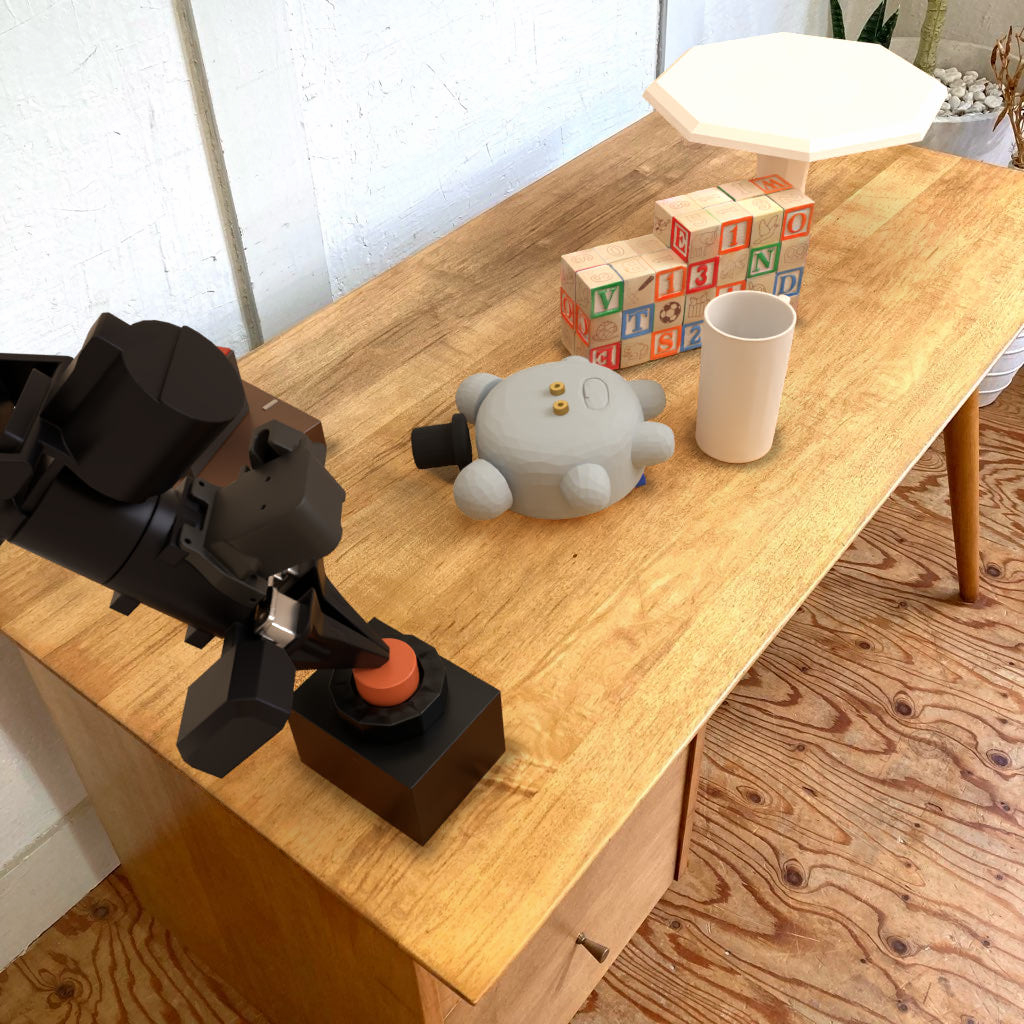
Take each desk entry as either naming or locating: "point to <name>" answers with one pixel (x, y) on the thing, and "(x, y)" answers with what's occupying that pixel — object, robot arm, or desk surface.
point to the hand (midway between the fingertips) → (385, 658)
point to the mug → (742, 373)
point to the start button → (390, 677)
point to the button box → (401, 739)
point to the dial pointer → (213, 448)
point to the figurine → (548, 440)
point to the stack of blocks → (683, 270)
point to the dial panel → (236, 446)
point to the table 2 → (796, 99)
